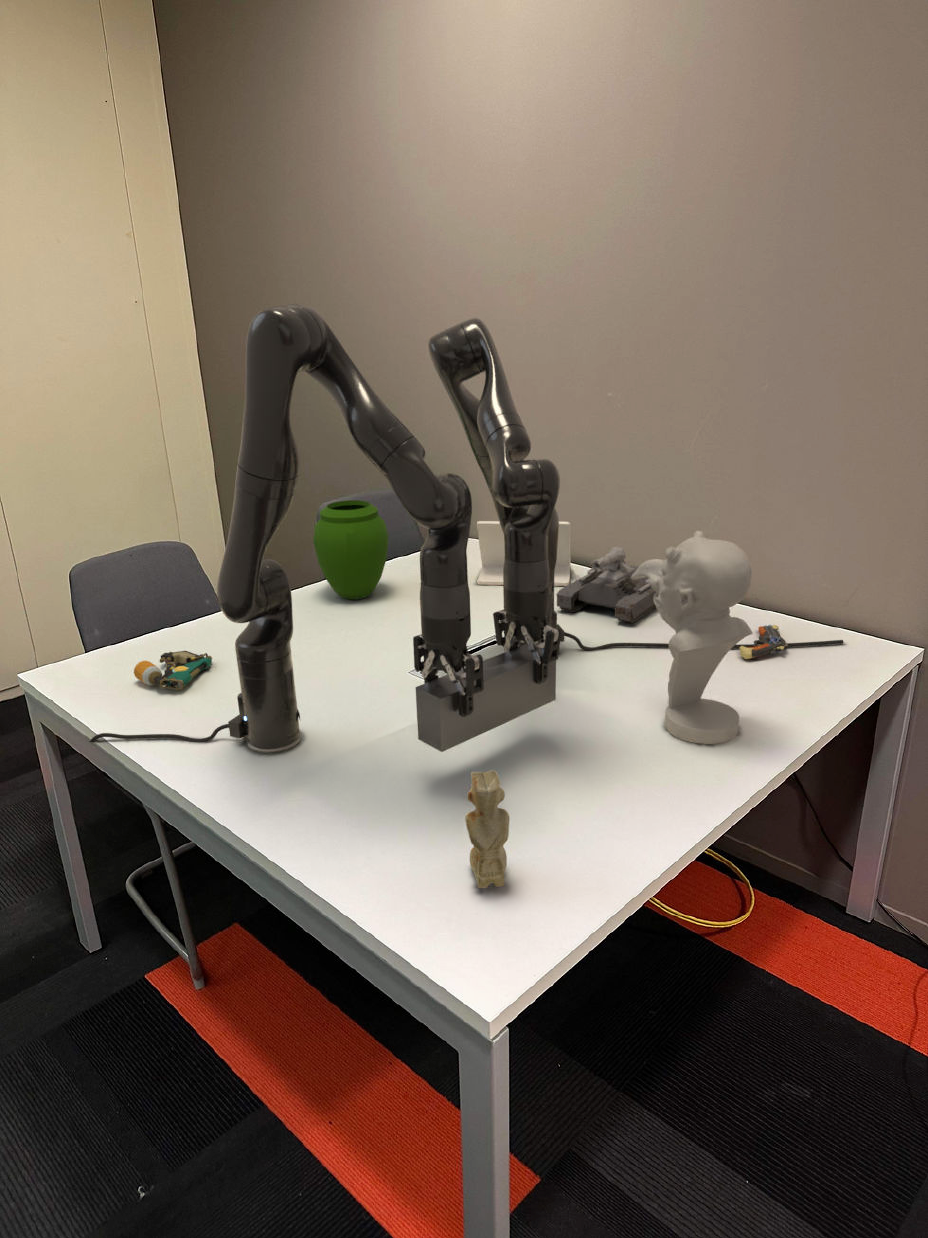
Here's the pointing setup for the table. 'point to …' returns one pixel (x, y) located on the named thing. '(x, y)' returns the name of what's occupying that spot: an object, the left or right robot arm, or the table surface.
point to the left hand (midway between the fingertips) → (449, 706)
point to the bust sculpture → (699, 629)
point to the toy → (610, 589)
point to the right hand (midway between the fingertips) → (526, 676)
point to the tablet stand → (494, 553)
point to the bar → (483, 699)
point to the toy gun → (764, 642)
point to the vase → (351, 547)
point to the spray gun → (172, 669)
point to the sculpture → (487, 829)
